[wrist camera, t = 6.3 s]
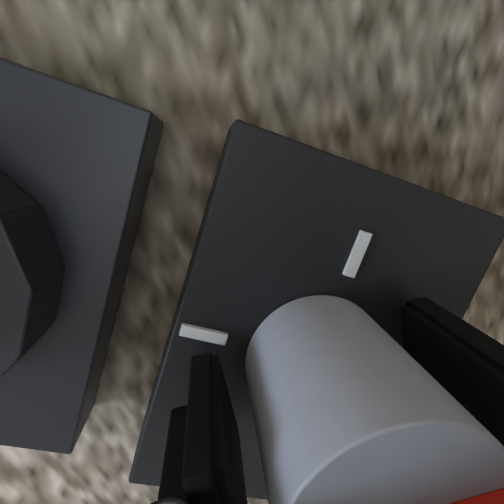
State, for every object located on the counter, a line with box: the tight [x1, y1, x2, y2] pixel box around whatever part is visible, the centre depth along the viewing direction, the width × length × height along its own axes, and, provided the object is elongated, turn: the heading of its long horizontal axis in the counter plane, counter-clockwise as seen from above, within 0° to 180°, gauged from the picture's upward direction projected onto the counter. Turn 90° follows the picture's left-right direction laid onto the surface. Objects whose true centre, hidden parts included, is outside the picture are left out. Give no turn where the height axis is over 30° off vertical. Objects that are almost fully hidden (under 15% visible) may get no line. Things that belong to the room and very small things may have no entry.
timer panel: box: [129, 119, 504, 499], centre depth 12 cm, size 12×9×3 cm
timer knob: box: [245, 295, 504, 504], centre depth 8 cm, size 4×4×5 cm
